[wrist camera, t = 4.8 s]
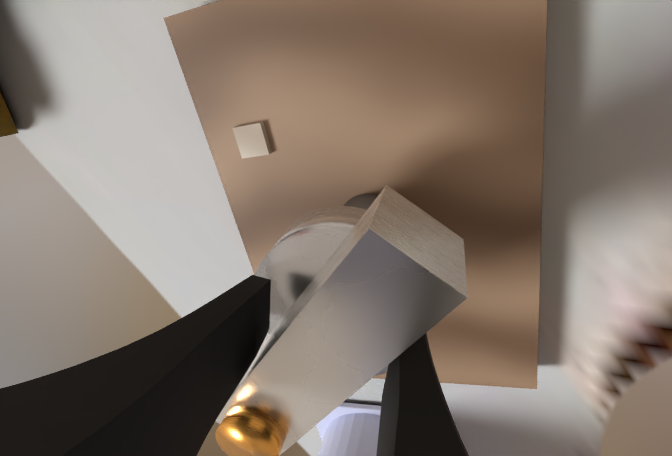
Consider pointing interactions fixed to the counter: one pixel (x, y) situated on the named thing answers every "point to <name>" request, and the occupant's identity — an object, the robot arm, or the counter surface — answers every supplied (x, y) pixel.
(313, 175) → the plate
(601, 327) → the counter surface
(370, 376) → the lever with brass knob
